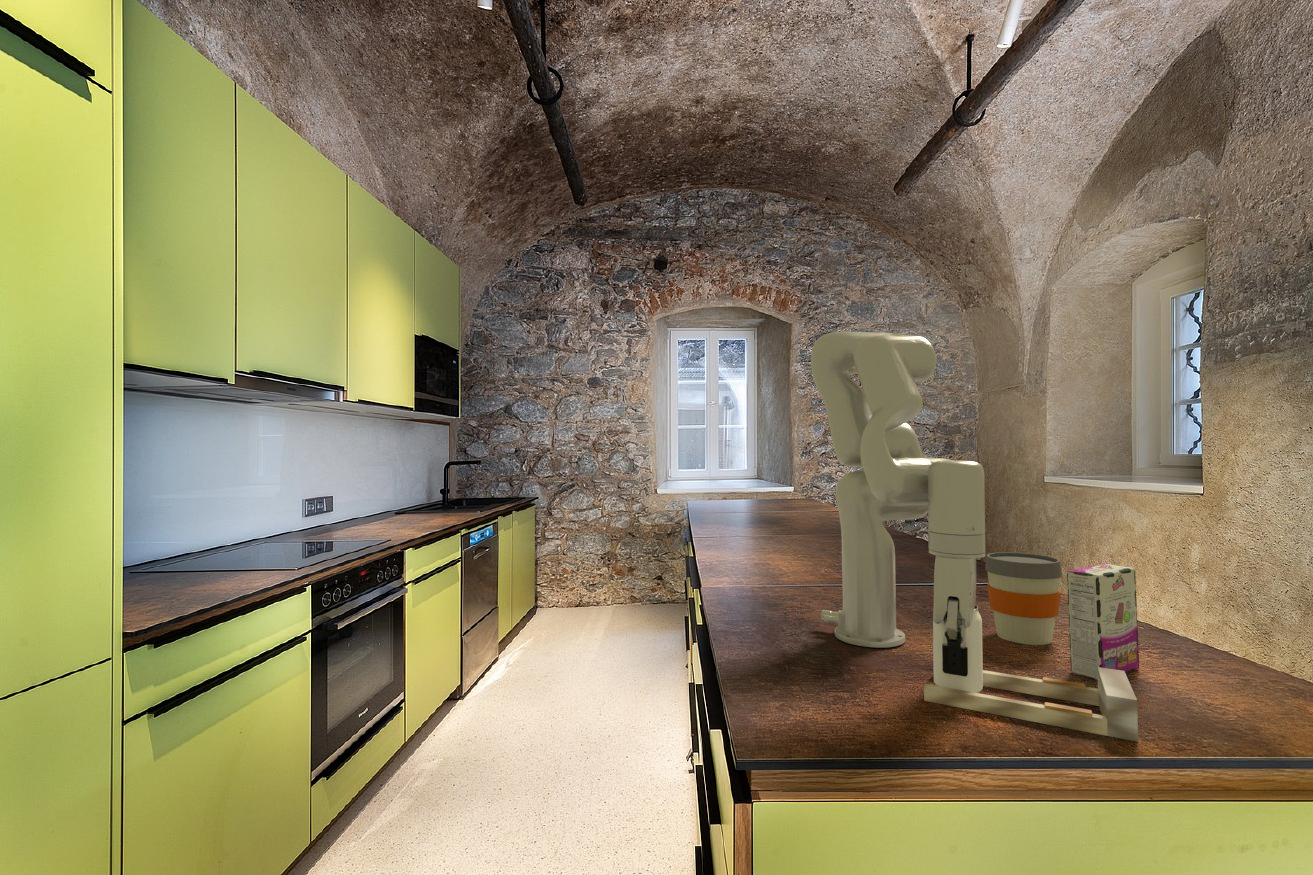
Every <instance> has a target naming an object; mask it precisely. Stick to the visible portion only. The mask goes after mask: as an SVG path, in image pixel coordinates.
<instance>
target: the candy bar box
mask: <svg viewBox="0 0 1313 875" xmlns="http://www.w3.org/2000/svg"><path fill="white" fill-rule="evenodd" d="M1066 581H1067V585H1066V586H1067V604H1068V605H1067V607H1068V608H1067V609H1068V632H1069V657H1070V673H1073V674H1075V675H1077V676H1080V675H1081V676H1080V677H1085V678H1087V679H1090V680H1095V681H1098V668H1097V667H1101V668H1108V669H1115V670H1122V671H1125V674H1126V675H1127V674H1129V673H1132V672H1135V671H1137V670H1140V668H1141V667H1140V654H1139V653H1140V652H1139V649H1140V648H1139V631H1138V630H1139V627H1138V626H1139V625H1138V605H1137V582H1136V581H1137V580H1136V568H1135V567H1130V566H1126V565H1125V566H1124V565H1118V564H1111V563H1101V564H1096V565H1091V566H1085V567H1082V568H1081V567H1079V568H1076V569H1071V570H1066Z"/></svg>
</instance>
